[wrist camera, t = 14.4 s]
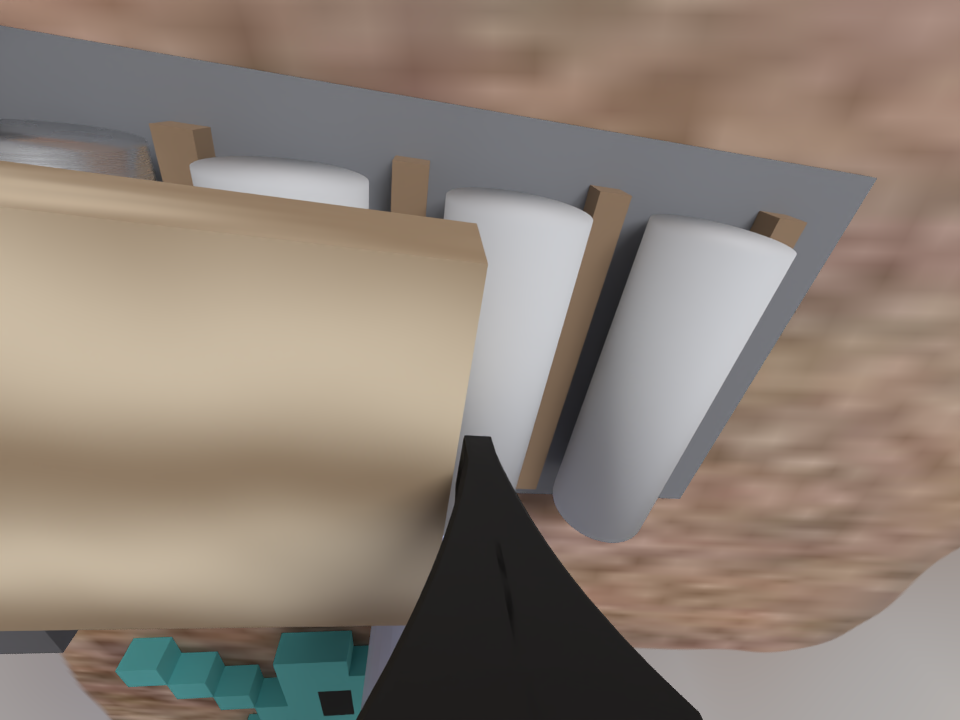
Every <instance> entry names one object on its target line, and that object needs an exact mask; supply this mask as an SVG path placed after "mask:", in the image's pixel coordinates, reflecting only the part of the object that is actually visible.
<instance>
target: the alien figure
mask: <svg viewBox="0 0 960 720" xmlns="http://www.w3.org/2000/svg"><path fill="white" fill-rule="evenodd" d="M368 649H369V645H367V646H354V645H353V637H352V631H325V632H297V633H282V635H281V638H280V641H279V645H278V648H277V652H276V655H275V659H274V662H273V667H274V669H275V672H276V675H277V677H275V678H264V677H263V675H262V672H261V670H260V667H259V665H240V666H225V665H224V663H223V661H222V659H221V658H220V656H219V654H218V652H195V653H181V651H180V649H179V648H178V646H177V644H176V643H175V641H174V640H173V638H172V637H159V638H134V639H133V641H132V642H131V644H130V646H129V648H128V649H127V651H126V653H125V655H124V657H123V658H122V660H121V662H120V664H119V666H118V667H117V669H116V671H115V672H116V673H117V674H118V675H119V677H120V678H121V679H122V680H123V681H124V682H125V684H126V685H127V686H128V687H137V686H158V685H167V686H168V687H169V689H170V690H171V691H172V693H173V694H174V695H175V697H176V698H177V699H188V698H207V697H213V698H214V699H215V701H216V703H217V704H218V706H219V708H220V709H221V710H230V709H248V708H255V709H256V711H257V713H258V714H249V717H248V720H356V719H357V717H358V715H359V713H360V711H361V703H362V695H363V688H364V680H365V672H366V664H367V656H368Z"/></svg>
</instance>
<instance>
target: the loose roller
mask: <svg viewBox="0 0 960 720" xmlns="http://www.w3.org/2000/svg"><path fill="white" fill-rule="evenodd" d="M0 161H8V162H15V163H23V164H30V165H38V166H46V167H53V168H61V169H68V170H76V171H83V172H91V173H99V174H106V175H114V176H121V177H129V178H136V179H144V180H152V181H157V179H156V175H155V171H154V167H153V163H152V158H151V154H150V150H149V146H148V142H147V141H146V140H145V139H144V138H141V137H139V136H136V135H133V134H129V133H125V132H121V131H116V130H111V129H105V128H98V127H92V126H85V125H77V124H68V123H59V122H48V121H35V120H20V119H1V118H0Z"/></svg>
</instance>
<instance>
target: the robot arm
mask: <svg viewBox="0 0 960 720" xmlns="http://www.w3.org/2000/svg"><path fill="white" fill-rule="evenodd" d="M356 720H703V719H702V717H701V715H700V713H699V712H698V711H697V710H696V709H695V708H694V707H693V706H692V705H691V704H690V703H689V702H687V700H686V699H685V698H683V697H682V696H681V695H680V694H679V693H678V692H677V691H676V690H675V689H674V688H673V687H672V686H671V685H670V684H669V683H668V682H667V681H666V680H664V678H662V676H660V674H659V673H657V672H656V671H655V670H654V669H653V668H652V667H651V666H650V665H649V664H648V663H647V662H646V661H645V659H644V658H643V657H642V656H641V655H640V654H639V653H638V652H637V651H636V650H635V649H634V648H633V647H632V646H631V645H630V644H629V643H628V642H627V641H626V640H625V639H624V638H623V636H622V635H621V634H620V633H619V632H618V631H617V630H616V629H615V627H614V626H613V625H612V624H611V623H610V622H609V621H608V619H607V618H606V617H605V616H604V615H603V614H602V613H601V611H600V610H599V609H598V608H597V607H596V606H595V605H594V603H593V602H592V601H591V600H590V599H589V598H588V597H587V595H586V594H585V593H584V592H583V590H582V589H581V588H580V587H579V585H578V584H577V583H576V582H575V580H574V579H573V578H572V577H571V575H570V574H569V573H568V571H567V570H566V569H565V567H564V566H563V565H562V563H561V562H560V561H559V559H558V558H557V557H556V555H555V554H554V552H553V551H552V549H551V548H550V547H549V545H548V544H547V542H546V541H545V539H544V538H543V536H542V535H541V533H540V532H539V530H538V528H537V527H536V525H535V524H534V522H533V521H532V519H531V517H530V516H529V514H528V512H527V511H526V509H525V507H524V506H523V504H522V502H521V500H520V499H519V497H518V495H517V493H516V492H515V490H514V488H513V486H512V484H511V482H510V481H509V479H508V477H507V475H506V473H505V471H504V469H503V467H502V465H501V463H500V460H499V458H498V456H497V454H496V452H495V448H494V445H493V442H492V438H491V436H473V435H464V438H463V444H462V450H461V455H460V461H459V467H458V473H457V478H456V484H455V503H454V507H453V510H452V513H451V516H450V520H449V523H448V526H447V529H446V532H445V535H443V539H442V543H441V546H440V548H439V551H438V554H437V556H436V559H435V561H434V564H433V566H432V569H431V571H430V574H429V576H428V578H427V581H426V583H425V585H424V587H423V590H422V592H421V594H420V597H419V599H418V601H417V603H416V605H415V608H414V610H413V612H412V614H411V616H410V618H409V620H408V622H407V624H406V626H371V633H370V641H369V649H368V656H367V664H366V672H365V680H364V688H363V695H362V703H361V711H360V713H359V715H358V717H357V719H356Z"/></svg>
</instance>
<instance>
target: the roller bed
mask: <svg viewBox="0 0 960 720" xmlns="http://www.w3.org/2000/svg"><path fill="white" fill-rule="evenodd" d="M0 118H1V119H20V120H35V121H48V122H59V123H68V124H77V125H85V126H92V127H98V128H105V129H111V130H116V131H121V132H125V133H129V134H133V135H136V136H139V137H141V138H144V139H145V140H146V141H147V142H148V146H149V150H150V154H151V158H152V163H153V167H154V171H155V175H156V179H157V181H159V182H167V183H174V184H182V185H189V186H197V187H205V188H212V189H220V190H227V191H235V192H242V193H250V194H258V195H265V196H273V197H280V198H288V199H295V200H303V201H311V202H318V203H326V204H333V205H341V206H348V207H356V208H364V209H371V210H379V211H386V212H394V213H401V214H409V215H417V216H424V217H432V218H439V219H447V220H454V221H462V222H470V223H477V226H478V229H479V233H480V237H481V240H482V244H483V248H484V251H485V255H486V258H487V262H488V268H487V274H486V280H485V286H484V292H483V298H482V304H481V310H480V316H479V322H478V328H477V334H476V340H475V346H474V352H473V358H472V364H471V370H470V376H469V382H468V388H467V394H466V400H465V406H464V412H463V418H462V425H461V431H460V437H459V443H458V449H457V455H456V461H455V467H454V473H453V479H452V485H451V491H450V497H449V503H448V509H447V515H446V521H445V527H444V533H443V535H445V532H446V529H447V526H448V523H449V520H450V516H451V513H452V510H453V507H454V503H455V484H456V478H457V473H458V467H459V461H460V455H461V450H462V444H463V438H464V435H473V436H491V438H492V442H493V445H494V448H495V452H496V454H497V456H498V458H499V460H500V463H501V465H502V467H503V469H504V471H505V473H506V475H507V477H508V479H509V481H510V482H511V484H512V486H513V488H514V490H515V492H516V493H532V494H553V499H554V503H555V505H556V507H557V509H558V511H559V513H560V514H561V516H562V517H563V518H564V519H565V521H567V522H568V523H569V524H570V525H571V526H572V527H573V528H574V529H576V530H577V531H579V532H580V533H582V534H584V535H585V536H587V537H590V538H592V539H595V540H598V541H602V542H609V543H618V542H624V541H626V540H629V539H631V538H632V537H634V536H635V535H636V534H637V533H638V531H639V530H640V528H641V526H642V525H643V523H644V521H645V519H646V518H647V516H648V514H649V512H650V511H651V509H652V507H653V505H654V504H655V502H656V500H657V498H676V499H680V498H681V496H682V494H683V493H684V491H685V490H686V488H687V486H688V485H689V483H690V481H691V480H692V478H693V477H694V475H695V473H696V472H697V470H698V468H699V467H700V465H701V464H702V462H703V460H704V459H705V457H706V455H707V454H708V452H709V451H710V449H711V447H712V446H713V444H714V442H715V441H716V439H717V438H718V436H719V434H720V433H721V431H722V429H723V428H724V426H725V425H726V423H727V421H728V420H729V418H730V416H731V415H732V413H733V412H734V410H735V408H736V407H737V405H738V403H739V402H740V400H741V399H742V397H743V395H744V394H745V392H746V390H747V389H748V387H749V386H750V384H751V382H752V381H753V379H754V377H755V376H756V374H757V373H758V371H759V369H760V368H761V366H762V364H763V363H764V361H765V360H766V358H767V356H768V355H769V353H770V351H771V350H772V348H773V347H774V345H775V343H776V342H777V340H778V338H779V337H780V335H781V334H782V332H783V330H784V329H785V327H786V325H787V324H788V322H789V321H790V319H791V317H792V316H793V314H794V312H795V311H796V309H797V308H798V306H799V304H800V303H801V301H802V299H803V298H804V296H805V295H806V293H807V291H808V290H809V288H810V286H811V285H812V283H813V282H814V280H815V278H816V277H817V275H818V273H819V272H820V270H821V269H822V267H823V265H824V264H825V262H826V260H827V259H828V257H829V256H830V254H831V252H832V251H833V249H834V247H835V246H836V244H837V243H838V241H839V239H840V238H841V236H842V234H843V233H844V231H845V230H846V228H847V226H848V225H849V223H850V221H851V220H852V218H853V217H854V215H855V213H856V212H857V210H858V208H859V207H860V205H861V204H862V202H863V200H864V199H865V197H866V195H867V194H868V192H869V191H870V189H871V187H872V186H873V184H874V182H875V181H876V179H877V178H873V177H868V176H863V175H857V174H851V173H846V172H840V171H834V170H828V169H823V168H817V167H811V166H805V165H800V164H794V163H788V162H782V161H777V160H771V159H765V158H759V157H754V156H748V155H742V154H736V153H731V152H725V151H719V150H713V149H708V148H702V147H696V146H690V145H685V144H679V143H673V142H667V141H662V140H656V139H650V138H644V137H639V136H633V135H627V134H621V133H616V132H610V131H604V130H598V129H593V128H587V127H581V126H575V125H570V124H564V123H558V122H552V121H547V120H541V119H535V118H529V117H524V116H518V115H512V114H506V113H501V112H495V111H489V110H483V109H478V108H472V107H466V106H461V105H455V104H449V103H443V102H438V101H432V100H426V99H420V98H415V97H409V96H403V95H397V94H392V93H386V92H380V91H374V90H369V89H363V88H357V87H351V86H346V85H340V84H334V83H328V82H323V81H317V80H311V79H305V78H300V77H294V76H288V75H282V74H277V73H271V72H265V71H259V70H254V69H248V68H242V67H236V66H231V65H225V64H219V63H213V62H208V61H202V60H196V59H190V58H185V57H179V56H173V55H167V54H162V53H156V52H150V51H144V50H139V49H133V48H127V47H121V46H116V45H110V44H104V43H98V42H93V41H87V40H81V39H75V38H70V37H64V36H58V35H52V34H47V33H41V32H35V31H29V30H24V29H18V28H12V27H6V26H1V25H0ZM77 631H78V630H43V631H0V654H23V653H63V652H64V650H65V649H66V647H67V646H68V644H69V643H70V641H71V640H72V638H73V637H74V635H75V634H76V633H77Z"/></svg>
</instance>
